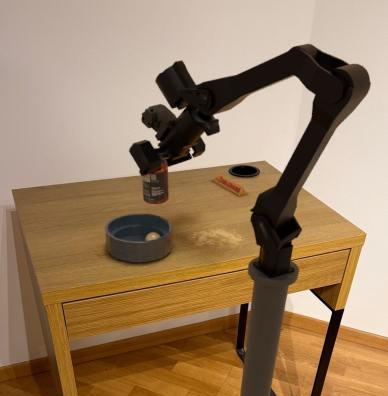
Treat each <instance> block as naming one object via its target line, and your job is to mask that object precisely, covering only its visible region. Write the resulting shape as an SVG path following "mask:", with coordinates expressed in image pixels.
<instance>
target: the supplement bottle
mask: <svg viewBox="0 0 388 396" xmlns="http://www.w3.org/2000/svg"><path fill="white" fill-rule="evenodd" d="M157 148H158V147H154V149H157ZM162 161H163V162H162V164H161V167H160V168H161V170H160V171H157V172H154V173H151V174H147V175H144V176H141V182H142V198H143V199H142V200H143V201H144V202H145V203H147V204H150V205H162V204H164V203H166V202H168V200H169V198H170V197H169V196H170V195H169V194H170V193H169V191H170V190H169V167H168V163H167V161H166V160H165V159H164V160H162Z"/></svg>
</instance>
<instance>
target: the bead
mask: <svg viewBox="0 0 388 396" xmlns="http://www.w3.org/2000/svg"><path fill="white" fill-rule="evenodd" d="M159 237H160V235H159V234H157V233H154V232H152V233H149V234H148V235H147V236H146V238H145V241H149V240H154V239H157V238H159Z"/></svg>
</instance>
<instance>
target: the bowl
mask: <svg viewBox="0 0 388 396" xmlns="http://www.w3.org/2000/svg"><path fill="white" fill-rule="evenodd" d="M104 232H105V233H104V234H105V244H106V251H107V252H108V253H109V255H110V256H112V257H113V258H115V259H118V260H119V261H120V260H121V261H124V262H128V263H129V262H130V263H147V262H152V261H158V260H160V259H162V258H164V257H166V256H167V255H169V253H171V251H172V248H173V226H172V223H171V222H170V221H169V220H168V219H167V218H164V217H162V216H160V215H155V214H151V213H143V212H140V213H128V214H122V215H119V216H116V217H114V218H112V219H110V220H109V221H108V222H107V223H106V224H105V226H104ZM152 232H154V233H157V234H159V235H160V237H159V238H157V239H154V240H149V241H145V238H146V236H147V235H148V234H149V233H152Z"/></svg>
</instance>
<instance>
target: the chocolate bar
mask: <svg viewBox="0 0 388 396" xmlns="http://www.w3.org/2000/svg"><path fill="white" fill-rule="evenodd" d="M213 182H214V183H215V184H217V185H219V186H220V187H222V188H223V189H226V190H227V191H229V192H231V193H233V194H234V195H236V196H238V197H240V196H244V195H247V192H246V190H245V187H244V186H242V185H241V184H239V183H237V182H236V181H234V180H231V179H230V178H228V177H226V176H224V175H223V174H221V173H219V172H217V174H216V176H215V178H214V180H213Z"/></svg>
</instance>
